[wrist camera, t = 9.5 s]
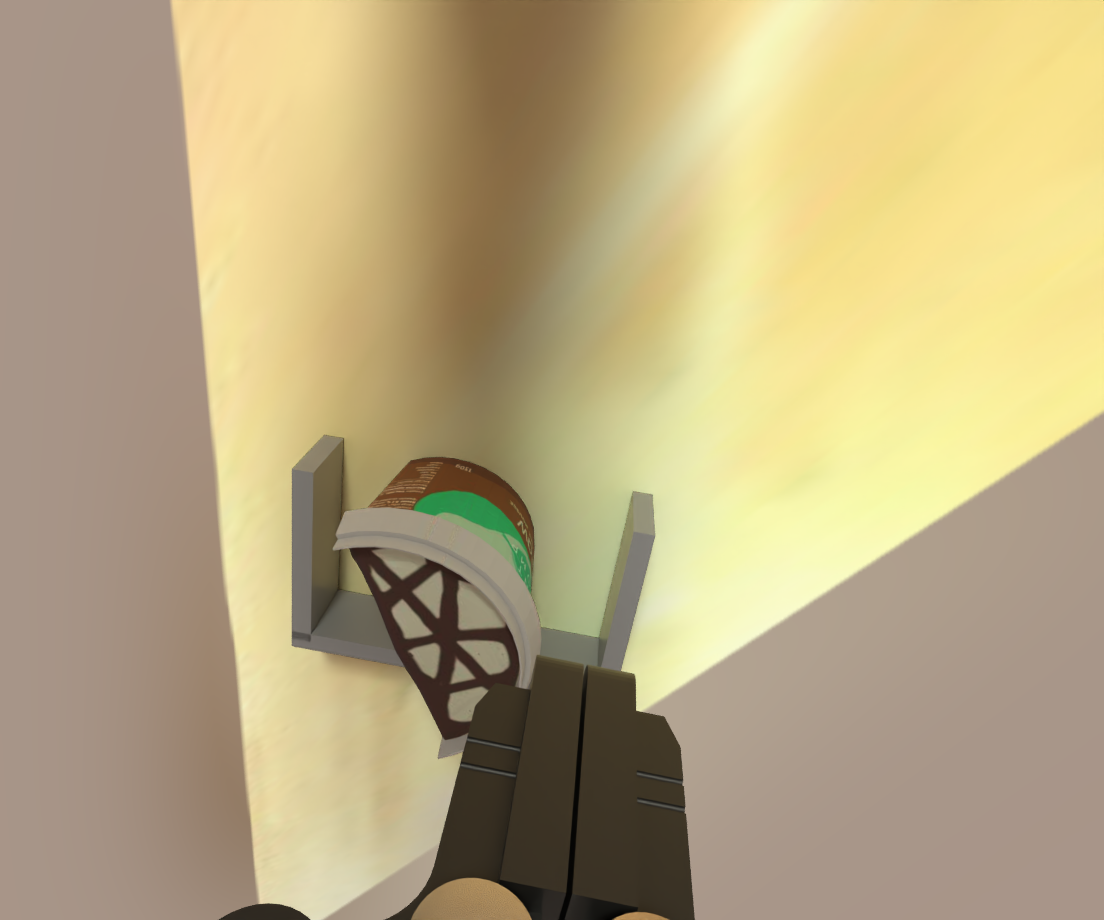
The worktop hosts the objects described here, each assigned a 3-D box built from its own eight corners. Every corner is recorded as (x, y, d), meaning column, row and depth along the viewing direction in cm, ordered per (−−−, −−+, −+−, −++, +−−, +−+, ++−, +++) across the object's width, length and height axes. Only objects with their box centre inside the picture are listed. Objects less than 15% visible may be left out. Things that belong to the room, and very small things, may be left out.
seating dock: (324, 434, 37) (292, 468, 34) (652, 494, 37) (655, 535, 34) (320, 600, 42) (291, 645, 38) (613, 655, 42) (611, 706, 38)
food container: (585, 605, 40) (573, 745, 31) (482, 626, 42) (442, 767, 33) (513, 403, 36) (475, 500, 27) (399, 434, 37) (326, 537, 28)
